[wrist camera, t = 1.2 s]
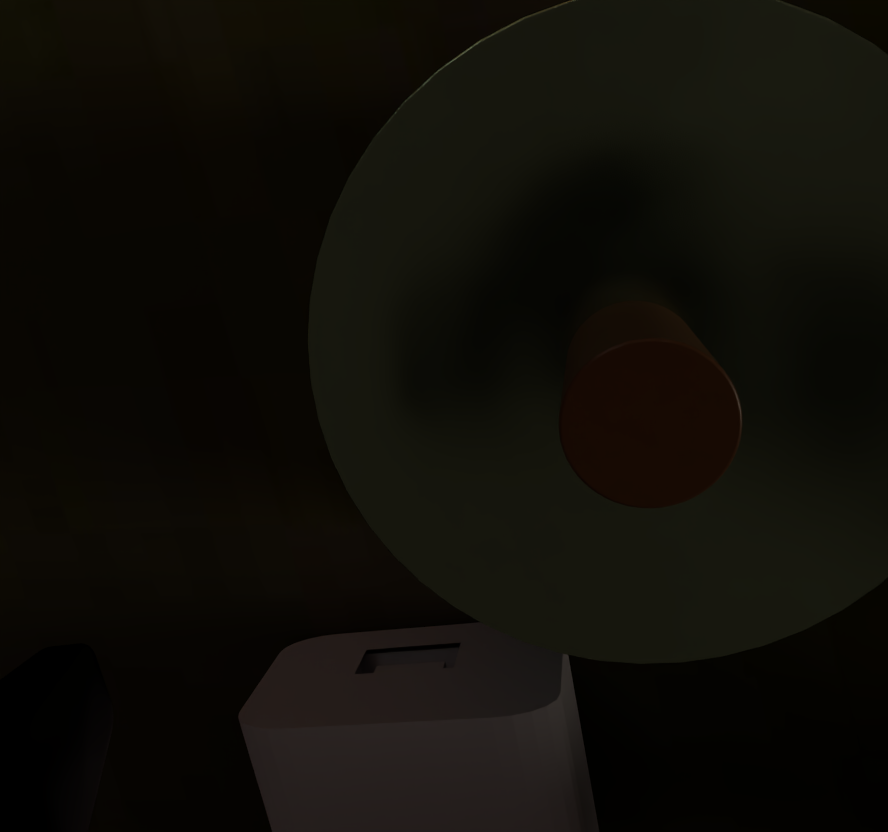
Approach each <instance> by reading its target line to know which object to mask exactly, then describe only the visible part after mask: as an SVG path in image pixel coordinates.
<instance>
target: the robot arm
mask: <svg viewBox="0 0 888 832" xmlns="http://www.w3.org/2000/svg"><path fill="white" fill-rule="evenodd" d="M112 727H113V708H112V703H111V700H110V697H109V694H108V691H107V688H106V685H105V682H104V679H103V676H102V673H101V670H100V667H99V664H98V661H97V658H96V655H95V653H94V651H93V650H92V649H91V647H90V646H88V645H86V644H82V643H80V644H70V645H60V646H51V647H47V648H44V649H42V650H41V651H39V652H38V653H36V654H35V655H34V656H32V657H31V658H29V659H28V660H27V661H25V662H24V663H23V664H21V665H20V666H19V667H17V668H16V669H14V670H13V671H12V672H10V673H9V674H8V675H6V676H5V677H4V678H2V679H1V680H0V832H88V829H89V825H90V821H91V817H92V813H93V808H94V804H95V800H96V796H97V791H98V787H99V783H100V779H101V774H102V770H103V766H104V762H105V757H106V753H107V749H108V745H109V740H110V736H111V732H112Z"/></svg>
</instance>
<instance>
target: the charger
mask: <svg viewBox="0 0 888 832" xmlns="http://www.w3.org/2000/svg"><path fill="white" fill-rule="evenodd" d="M238 718H239V722H240V725H241V729H242V732H243V735H244V739H245V742H246V745H247V749H248V752H249V755H250V759H251V762H252V765H253V769H254V772H255V776H256V779H257V782H258V786H259V789H260V792H261V796H262V799H263V802H264V806H265V809H266V812H267V816H268V819H269V822H270V826H271V829H272V832H599V828H598V822H597V816H596V811H595V805H594V799H593V793H592V788H591V782H590V776H589V771H588V765H587V759H586V754H585V748H584V742H583V736H582V731H581V725H580V719H579V714H578V708H577V702H576V697H575V691H574V685H573V679H572V674H571V668H570V662H569V657H568V655H567V654H562V653H557V652H554V651H551V650H548V649H545V648H542V647H538V646H535V645H532V644H529V643H526V642H523V641H520V640H518V639H515V638H513V637H511V636H509V635H506V634H504V633H502V632H500V631H497V630H495V629H493V628H491V627H488V626H486V625H484V624H483V623H481V622H478V623H466V624H454V625H442V626H429V627H417V628H405V629H393V630H380V631H368V632H356V633H344V634H334V635H326V636H320V637H315V638H310V639H306V640H303V641H300V642H297V643H294V644H292V645H290V646H288V647H286V648H285V649H283V650H282V651H281V652H280V653H279V655H278V656H277V658H276V659H275V661H274V662H273V664H272V665H271V666H270V668H269V669H268V671H267V672H266V674H265V675H264V677H263V678H262V680H261V681H260V683H259V684H258V685H257V687H256V688H255V690H254V691H253V693H252V694H251V696H250V697H249V699H248V700H247V702H246V703H245V705H244V706H243V707H242V709H241V710H240V712H239V716H238Z"/></svg>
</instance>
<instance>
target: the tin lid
mask: <svg viewBox="0 0 888 832" xmlns="http://www.w3.org/2000/svg"><path fill="white" fill-rule="evenodd" d="M307 343H308V356H309V370H310V382H311V387H312V392H313V397H314V402H315V407H316V412H317V416H318V421H319V424H320V427H321V430H322V433H323V436H324V439H325V442H326V445H327V448H328V451H329V454H330V457H331V459H332V461H333V463H334V465H335V468H336V470H337V472H338V474H339V476H340V478H341V480H342V482H343V484H344V486H345V488H346V490H347V493H348V494H349V496H350V497H351V499H352V501H353V502H354V504H355V505H356V507H357V508H358V510H359V511H360V513H361V515H362V516H363V518H364V519H365V521H366V522H367V524H368V526H369V527H370V528H371V529H372V530H373V532H374V533H375V534H376V535H377V536H378V538H379V539H380V540H381V541H382V543H383V544H384V545H385V546H386V547H387V549H388V550H389V551H390V552H391V554H392V555H393V556H394V557H395V558H396V559H397V560H398V561H399V562H400V563H402V564H403V565H404V566H405V567H406V568H407V569H408V570H409V571H410V572H411V573H412V574H413V575H414V576H415V577H416V578H417V579H418V580H419V581H420V582H421V583H423V584H424V585H425V586H427V587H428V588H429V589H431V590H432V591H433V592H435V593H436V594H437V595H439V596H440V597H441V598H443V599H444V600H445V601H447V602H448V603H449V604H451V605H452V606H454V607H455V608H457V609H459V610H460V611H462V612H464V613H466V614H467V615H469V616H471V617H472V618H474V619H476V620H477V621H479V622H481V623H483V624H484V625H486V626H488V627H491V628H493V629H495V630H497V631H500V632H502V633H504V634H506V635H509V636H511V637H513V638H515V639H518V640H520V641H523V642H526V643H529V644H532V645H535V646H538V647H542V648H545V649H548V650H551V651H554V652H557V653H562V654H567V655H572V656H577V657H582V658H587V659H592V660H597V661H608V662H620V663H632V664H659V663H683V662H690V661H697V660H704V659H711V658H718V657H724V656H728V655H732V654H736V653H739V652H743V651H747V650H751V649H755V648H759V647H762V646H766V645H768V644H771V643H773V642H776V641H779V640H781V639H784V638H786V637H789V636H791V635H794V634H797V633H799V632H802V631H804V630H806V629H808V628H810V627H812V626H814V625H816V624H818V623H820V622H822V621H823V620H825V619H827V618H829V617H831V616H833V615H835V614H837V613H839V612H841V611H842V610H844V609H846V608H847V607H849V606H850V605H851V604H853V603H854V602H856V601H857V600H859V599H860V598H862V597H863V596H865V595H866V594H867V593H869V592H870V591H872V590H873V589H875V588H876V587H878V586H879V585H881V584H882V583H883V582H884V581H885V580H886V579H887V578H888V54H887V53H885V52H884V51H883V50H882V49H880V48H879V47H878V46H877V45H875V44H874V43H873V42H871V41H869V40H867V39H865V38H864V37H862V36H860V35H858V34H857V33H855V32H853V31H851V30H849V29H848V28H846V27H844V26H842V25H841V24H839V23H837V22H835V21H833V20H832V19H830V18H828V17H826V16H823V15H820V14H818V13H815V12H812V11H810V10H807V9H804V8H802V7H799V6H797V5H794V4H791V3H789V2H786V1H783V0H567V1H564V2H562V3H559V4H556V5H553V6H551V7H548V8H545V9H543V10H540V11H537V12H534V13H532V14H529V15H526V16H523V17H521V18H520V19H518V20H516V21H514V22H512V23H510V24H508V25H506V26H504V27H502V28H501V29H499V30H497V31H495V32H493V33H491V34H489V35H487V36H485V37H483V38H482V39H480V40H478V41H477V42H475V43H474V44H472V45H471V46H470V47H468V48H467V49H465V50H464V51H462V52H461V53H460V54H458V55H457V56H455V57H454V58H453V59H451V60H450V61H448V62H447V63H446V64H444V65H443V66H441V67H440V68H439V69H437V70H436V71H435V72H434V73H433V74H432V75H431V76H430V77H429V78H428V79H427V80H426V81H425V82H423V83H422V84H421V85H420V86H419V87H418V88H417V89H416V90H415V91H414V92H413V93H412V94H410V95H409V96H408V97H407V98H406V99H405V100H404V101H403V102H402V103H401V105H400V106H399V107H398V108H397V109H396V111H395V112H394V113H393V114H392V115H391V117H390V118H389V119H388V120H387V121H386V123H385V124H384V125H383V126H382V127H381V129H380V130H379V131H378V132H377V133H376V135H375V136H374V137H373V139H372V140H371V142H370V143H369V145H368V146H367V148H366V150H365V151H364V153H363V154H362V156H361V158H360V159H359V161H358V162H357V164H356V165H355V167H354V169H353V170H352V172H351V173H350V175H349V177H348V179H347V181H346V183H345V185H344V188H343V190H342V192H341V194H340V196H339V198H338V200H337V203H336V205H335V207H334V209H333V211H332V213H331V215H330V218H329V221H328V225H327V228H326V231H325V234H324V237H323V240H322V243H321V247H320V250H319V253H318V256H317V261H316V266H315V272H314V277H313V283H312V288H311V294H310V299H309V318H308V337H307Z"/></svg>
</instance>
